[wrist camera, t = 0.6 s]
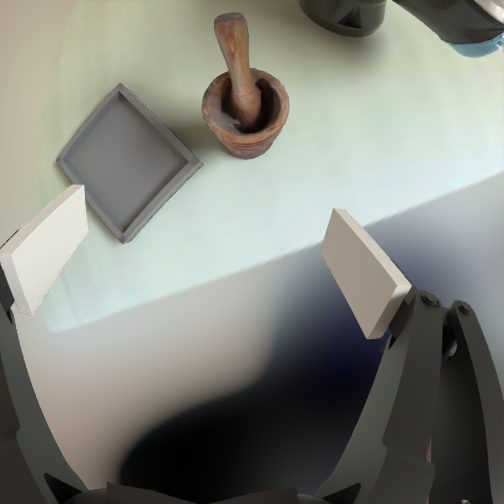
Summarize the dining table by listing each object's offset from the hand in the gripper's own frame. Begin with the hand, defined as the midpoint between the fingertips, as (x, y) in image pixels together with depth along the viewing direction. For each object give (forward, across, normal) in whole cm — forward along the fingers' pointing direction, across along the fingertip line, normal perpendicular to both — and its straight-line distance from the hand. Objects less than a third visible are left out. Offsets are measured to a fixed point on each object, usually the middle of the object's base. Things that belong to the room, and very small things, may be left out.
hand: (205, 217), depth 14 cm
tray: (+28, -13, -5) cm, 32 cm away
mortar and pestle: (+28, +4, +2) cm, 29 cm away
